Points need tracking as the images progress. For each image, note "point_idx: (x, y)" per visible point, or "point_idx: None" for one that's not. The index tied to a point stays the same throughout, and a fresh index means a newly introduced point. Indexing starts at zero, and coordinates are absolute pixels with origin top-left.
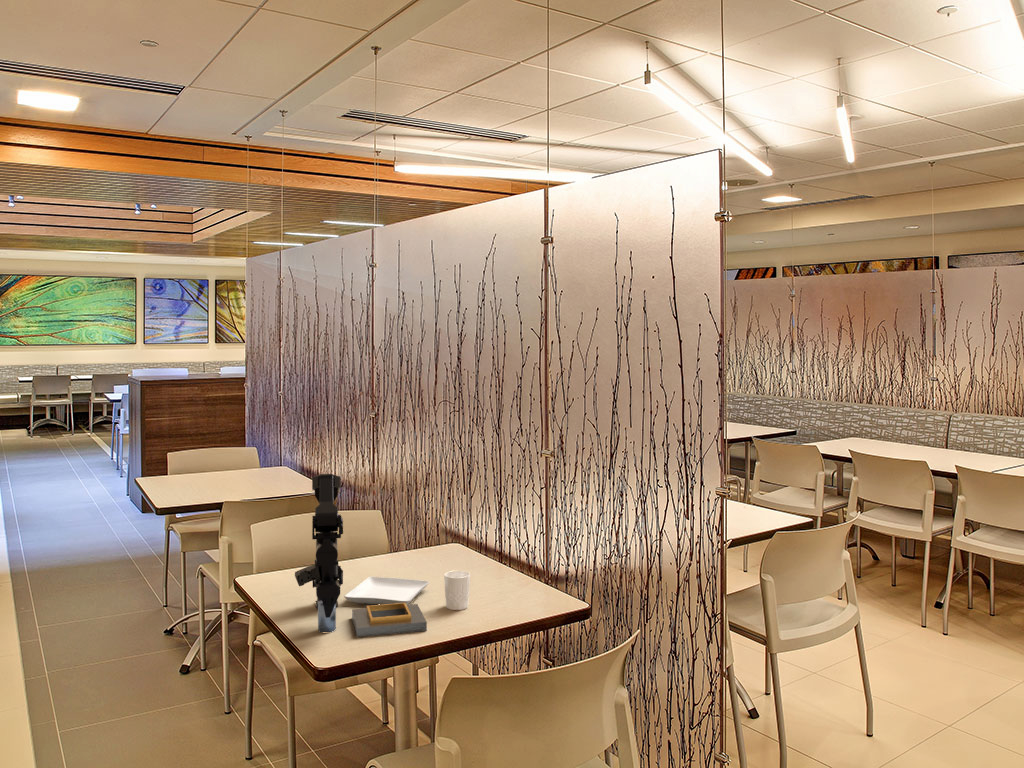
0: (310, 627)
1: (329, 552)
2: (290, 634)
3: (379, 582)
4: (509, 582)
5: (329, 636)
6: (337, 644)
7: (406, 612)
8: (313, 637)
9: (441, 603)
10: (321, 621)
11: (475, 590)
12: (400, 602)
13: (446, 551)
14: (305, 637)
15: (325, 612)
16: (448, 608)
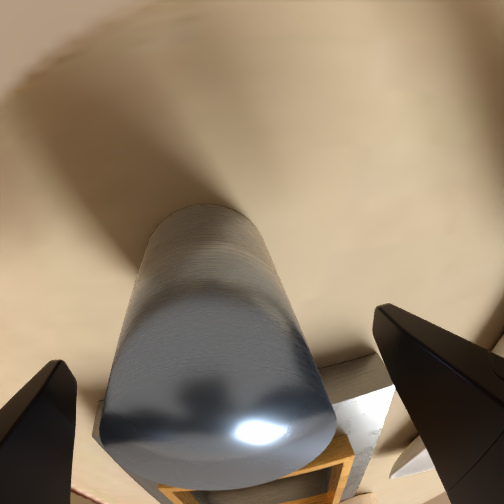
0: (278, 138)
1: None
2: (138, 14)
3: None
4: (428, 496)
5: (90, 292)
6: (4, 335)
7: None
8: (65, 197)
9: (386, 483)
10: (136, 279)
11: (423, 486)
12: (402, 461)
13: None
14: (65, 140)
15: (19, 396)
16: (342, 501)
